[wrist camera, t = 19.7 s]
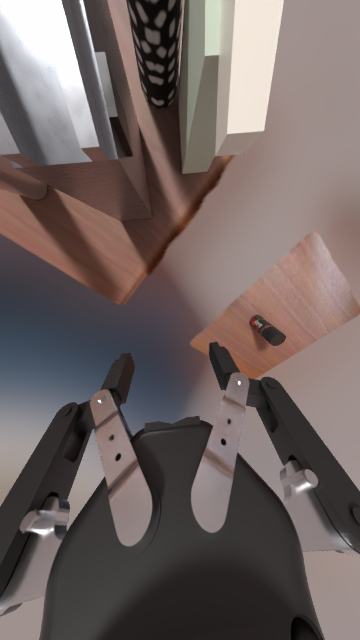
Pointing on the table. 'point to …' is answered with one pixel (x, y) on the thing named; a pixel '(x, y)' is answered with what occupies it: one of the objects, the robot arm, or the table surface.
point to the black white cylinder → (157, 47)
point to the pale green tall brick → (199, 84)
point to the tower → (70, 104)
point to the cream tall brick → (245, 71)
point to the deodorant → (267, 330)
